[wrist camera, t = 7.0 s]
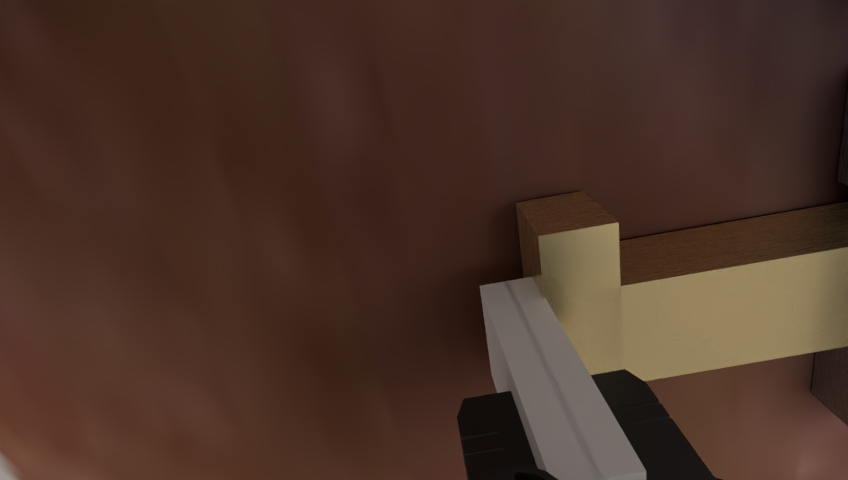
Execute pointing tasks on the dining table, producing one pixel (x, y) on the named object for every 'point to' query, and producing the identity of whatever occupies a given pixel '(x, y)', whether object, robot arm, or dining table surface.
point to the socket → (841, 367)
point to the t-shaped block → (688, 286)
